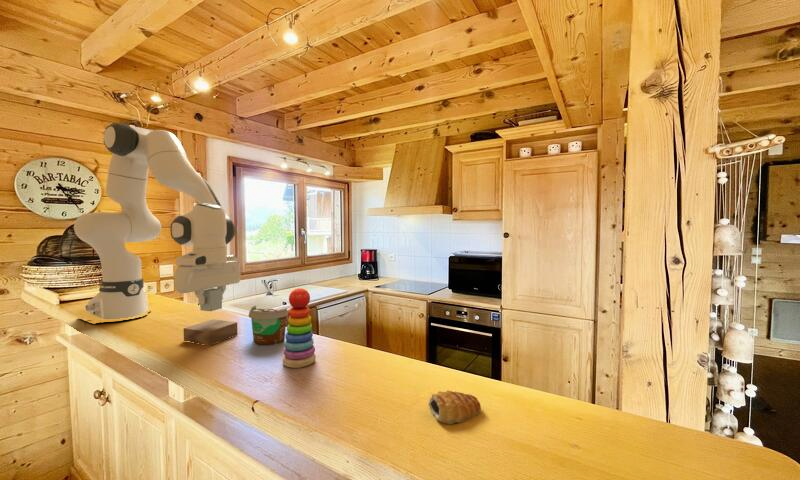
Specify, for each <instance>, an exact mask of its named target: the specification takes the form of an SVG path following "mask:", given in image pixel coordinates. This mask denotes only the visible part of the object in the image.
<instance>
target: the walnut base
mask: <svg viewBox="0 0 800 480" xmlns="http://www.w3.org/2000/svg"><path fill="white" fill-rule="evenodd" d="M235 335H236V336H238V322H237V321H236V322H235V321H231V320H220V319H214V318H213V319H209V320H206V321H202V322H200V323H197V324H194V325H190V326H187V327H184V328H183V342H184V341H190V342H194V343H193V344H195V343H199V344H198V345H201V344H204V345H203V346H207V345H209V347H210V346H212V344H213V345H215V344H214V343H216V344H217V342H218V343H220V342H219V341H221V342H223V341H225V340H224V339H226V340H228V339H230V338H229V337H231V338H233V337H232V336H234V337H236V336H235ZM227 338H228V339H227ZM222 340H223V341H222Z"/></svg>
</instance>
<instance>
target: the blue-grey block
mask: <svg viewBox="0 0 800 480" xmlns="http://www.w3.org/2000/svg"><path fill="white" fill-rule="evenodd" d="M202 294H203V296H204V298H207V304H204V305H199V307H200V311H201V312H203V311H205V312H215V311H216V310H221V309H222V308H223V300H222V289H217V287H214V288H209V289H204V293H202Z"/></svg>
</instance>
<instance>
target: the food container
mask: <svg viewBox="0 0 800 480" xmlns="http://www.w3.org/2000/svg"><path fill="white" fill-rule="evenodd" d="M287 317H289V310H288V308H287V307H286V308H284V309H279V310H278V309H274V308H263V309H262V308H257V305H254V306H252V307H250V309H249V312H248V318H250V319H251V328H252V339H253V344H254V345H256V346H260V347H261V346H262V347H264V346H266V347H267V346H276V345H279V344H282V343H285V341H286V338H285V336H286V329H287Z"/></svg>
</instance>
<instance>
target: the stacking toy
mask: <svg viewBox="0 0 800 480" xmlns="http://www.w3.org/2000/svg"><path fill="white" fill-rule="evenodd" d="M310 301H311V295H310V293H309V291H308V290H307V289H305V288H300V287H299V288H295V289H293V290H292V291H291V292H290V294H289V295H288V303H289V305H290V306H291V307H290V309H288V319H287V321H288V325H286V331H287V332H285V340H284V345H283V346H284V350H283V357H282V363H283V365H284V366H286V367H288V368H291V369H299V368H304V367H308V366H310V365H312V363H314V362H315V360H316V358H317V357H316V356H317V355H316V353H315V351H316V347H315V345H314V339H313V336H314V334H313V331H312V329H313V325H312V322H311V321H312V316H311V315H309V314H310V313H311V310H310V308H309V307H308V305H309V303H310Z"/></svg>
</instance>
